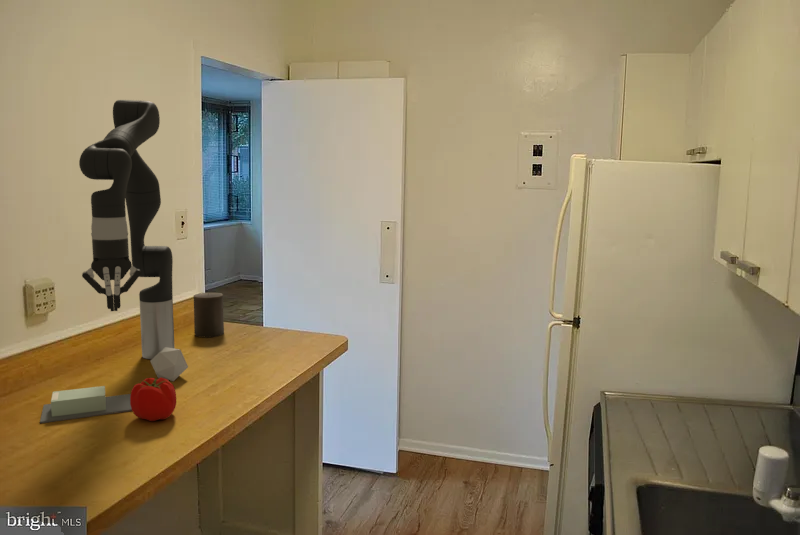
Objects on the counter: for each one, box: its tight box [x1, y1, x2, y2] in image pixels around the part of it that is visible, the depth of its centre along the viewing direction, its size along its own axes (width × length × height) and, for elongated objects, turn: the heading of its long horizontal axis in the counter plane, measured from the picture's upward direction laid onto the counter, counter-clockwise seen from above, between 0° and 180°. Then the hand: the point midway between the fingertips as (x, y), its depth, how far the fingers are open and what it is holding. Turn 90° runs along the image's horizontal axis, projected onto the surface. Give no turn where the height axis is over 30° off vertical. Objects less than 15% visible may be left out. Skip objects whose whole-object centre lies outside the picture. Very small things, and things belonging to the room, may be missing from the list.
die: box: [150, 347, 189, 382], centre depth 168 cm, size 8×9×10 cm
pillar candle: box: [193, 290, 225, 338], centre depth 213 cm, size 10×10×15 cm
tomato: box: [130, 377, 177, 422], centre depth 141 cm, size 11×11×9 cm
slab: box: [50, 385, 106, 417], centre depth 145 cm, size 7×4×11 cm
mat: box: [39, 393, 133, 424], centre depth 146 cm, size 11×20×1 cm, turn 116°
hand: (113, 310), depth 145 cm, fingers closed
